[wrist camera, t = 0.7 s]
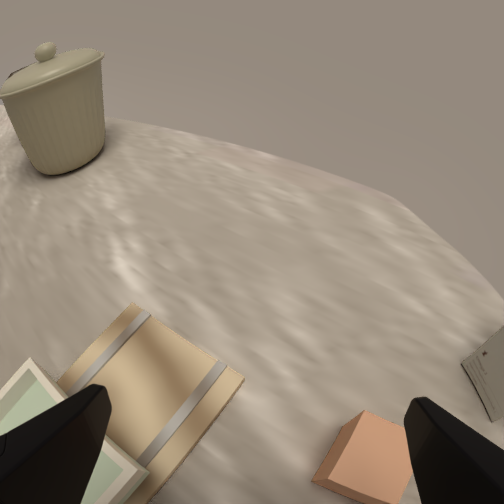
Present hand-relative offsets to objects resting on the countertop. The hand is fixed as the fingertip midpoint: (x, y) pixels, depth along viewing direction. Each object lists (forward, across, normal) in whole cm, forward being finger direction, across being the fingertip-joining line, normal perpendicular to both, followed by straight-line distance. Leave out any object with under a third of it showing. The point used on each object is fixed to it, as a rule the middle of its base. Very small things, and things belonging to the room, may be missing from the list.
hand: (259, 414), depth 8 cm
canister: (+42, +33, -7) cm, 53 cm away
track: (+8, +11, +13) cm, 19 cm away
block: (+7, -8, +14) cm, 17 cm away
